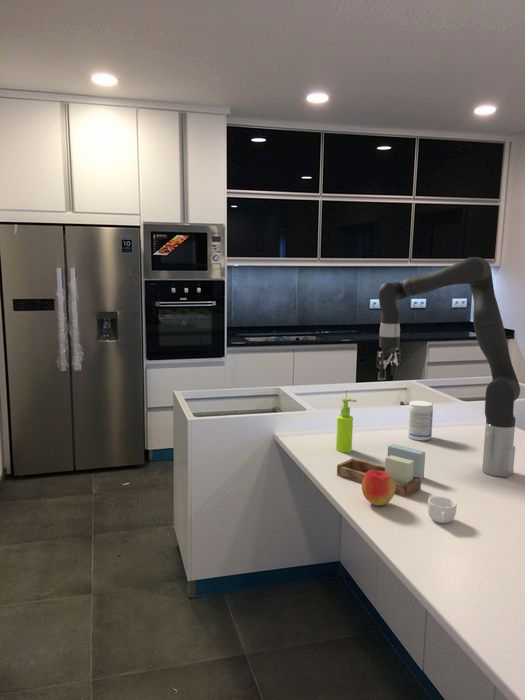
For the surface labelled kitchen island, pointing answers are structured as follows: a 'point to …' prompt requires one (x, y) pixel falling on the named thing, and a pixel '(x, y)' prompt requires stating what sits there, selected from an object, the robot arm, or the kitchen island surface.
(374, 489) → the apple
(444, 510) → the teacup
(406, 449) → the blue-grey rectangular block
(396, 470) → the seated panel
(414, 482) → the wooden tray
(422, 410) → the supplement tub
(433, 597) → the kitchen island surface
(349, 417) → the soap dispenser
